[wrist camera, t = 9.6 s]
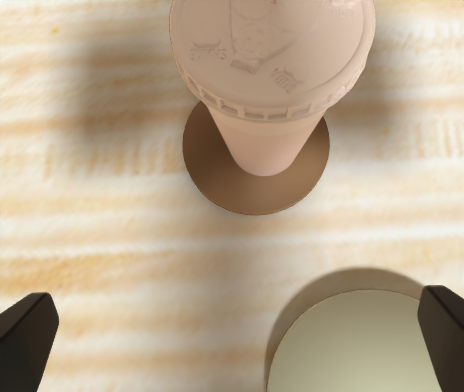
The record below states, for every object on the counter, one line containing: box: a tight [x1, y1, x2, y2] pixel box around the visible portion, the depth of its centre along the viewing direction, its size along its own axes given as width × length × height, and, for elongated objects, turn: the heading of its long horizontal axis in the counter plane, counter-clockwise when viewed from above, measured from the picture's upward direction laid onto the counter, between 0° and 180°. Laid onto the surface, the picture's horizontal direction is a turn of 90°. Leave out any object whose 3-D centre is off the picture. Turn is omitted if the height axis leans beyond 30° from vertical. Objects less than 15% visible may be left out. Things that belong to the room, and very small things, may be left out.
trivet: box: [183, 101, 329, 215], centre depth 21 cm, size 8×8×1 cm
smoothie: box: [169, 0, 376, 176], centre depth 14 cm, size 6×6×14 cm
